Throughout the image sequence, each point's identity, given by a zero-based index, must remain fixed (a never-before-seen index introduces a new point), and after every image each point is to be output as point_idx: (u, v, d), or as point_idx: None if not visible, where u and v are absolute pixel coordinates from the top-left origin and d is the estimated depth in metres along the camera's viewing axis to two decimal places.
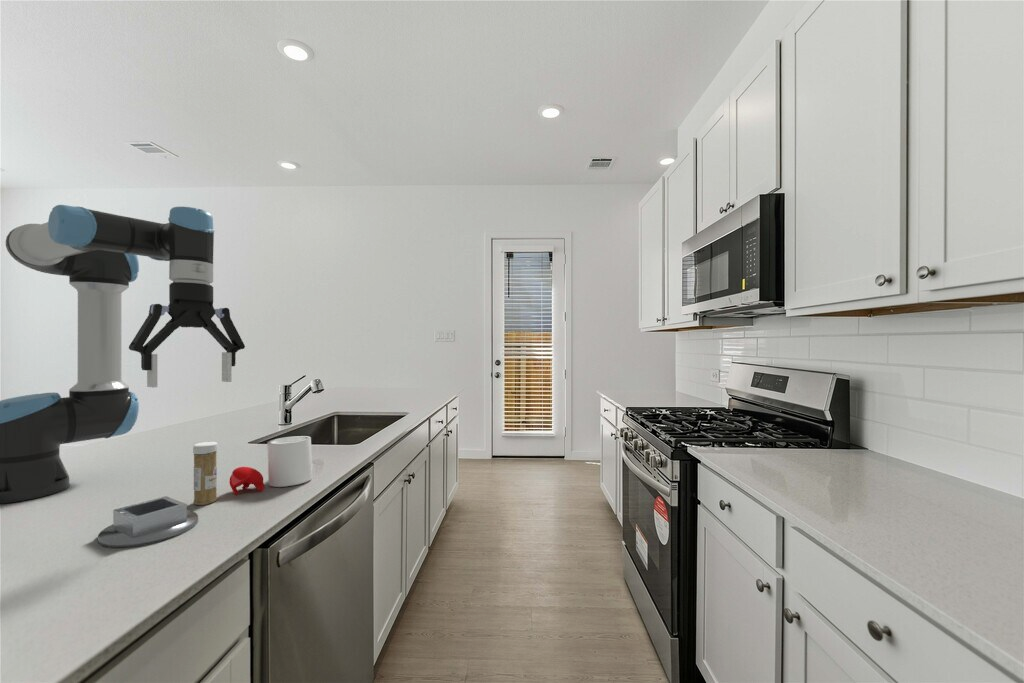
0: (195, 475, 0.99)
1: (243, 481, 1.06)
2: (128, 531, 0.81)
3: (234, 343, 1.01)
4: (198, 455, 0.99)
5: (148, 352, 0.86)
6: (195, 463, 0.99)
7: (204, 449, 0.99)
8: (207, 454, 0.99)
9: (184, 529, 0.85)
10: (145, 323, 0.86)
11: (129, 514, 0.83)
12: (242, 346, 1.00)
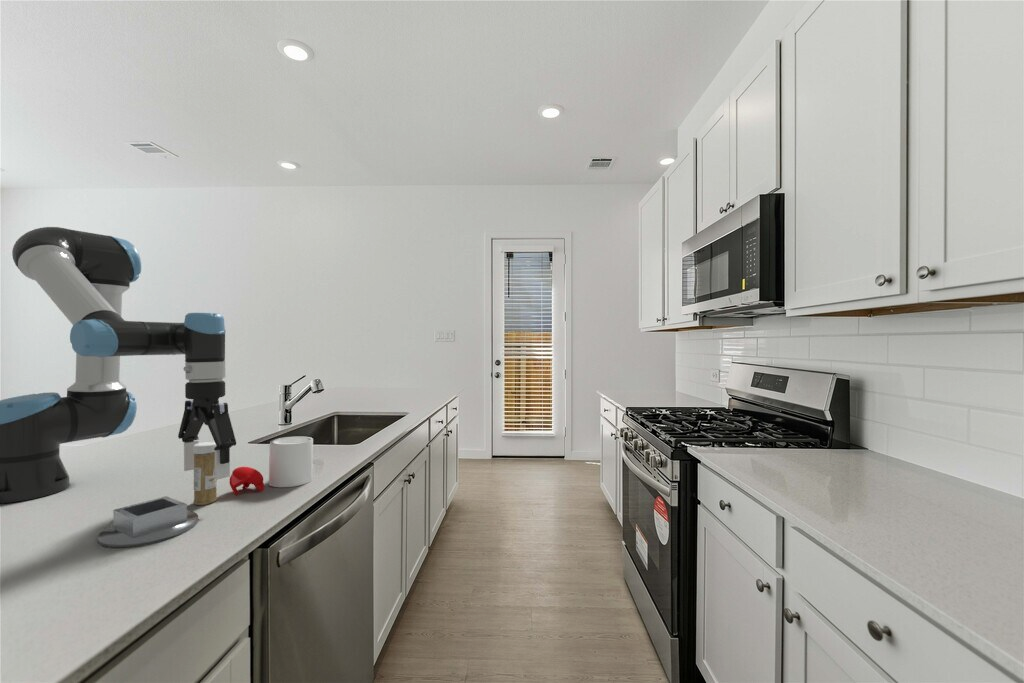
0: (195, 475, 0.99)
1: (243, 481, 1.06)
2: (128, 531, 0.81)
3: (231, 439, 0.97)
4: (198, 455, 0.99)
5: None
6: (195, 463, 0.99)
7: (204, 449, 0.99)
8: (207, 454, 0.99)
9: (184, 529, 0.85)
10: None
11: (129, 514, 0.83)
12: (222, 444, 0.95)
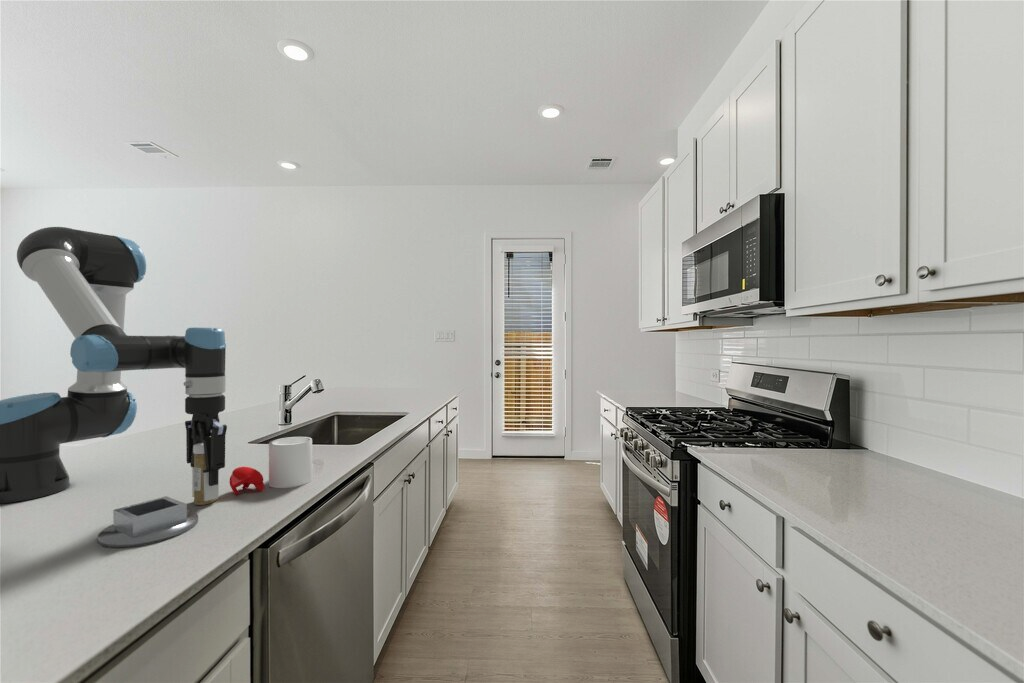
0: (195, 475, 0.99)
1: (243, 481, 1.06)
2: (128, 531, 0.81)
3: None
4: (198, 455, 0.99)
5: (191, 466, 1.02)
6: (195, 463, 0.99)
7: None
8: None
9: (184, 529, 0.85)
10: None
11: (129, 514, 0.83)
12: (211, 467, 0.97)
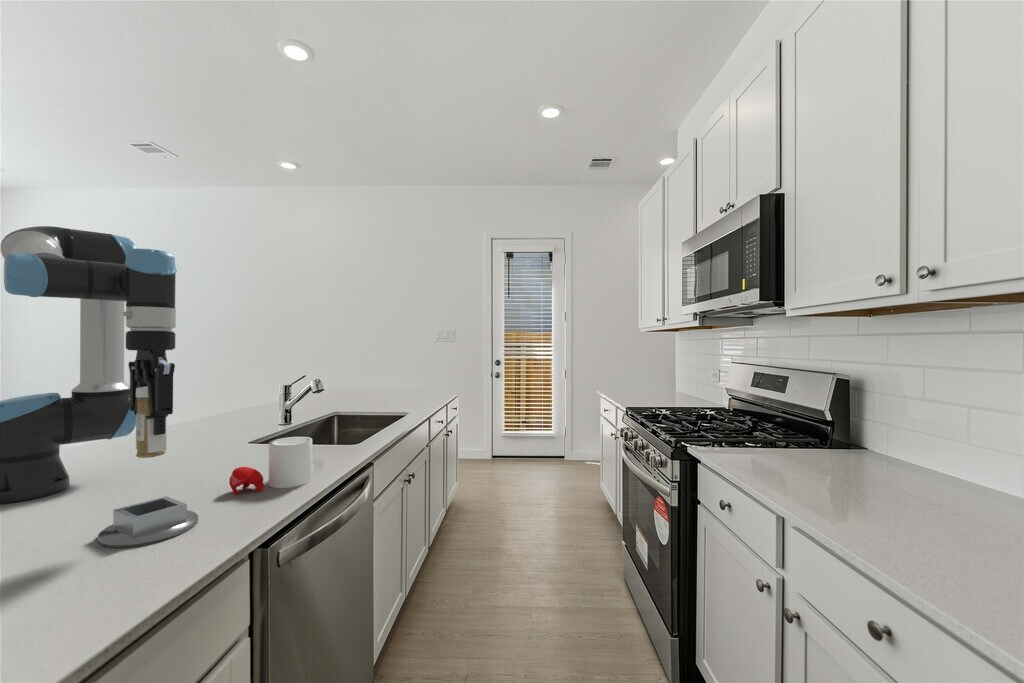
0: (138, 422, 0.84)
1: (243, 481, 1.06)
2: (128, 531, 0.81)
3: None
4: (141, 399, 0.84)
5: (135, 413, 0.87)
6: (138, 408, 0.84)
7: None
8: None
9: (184, 529, 0.85)
10: None
11: (129, 514, 0.83)
12: (155, 412, 0.82)
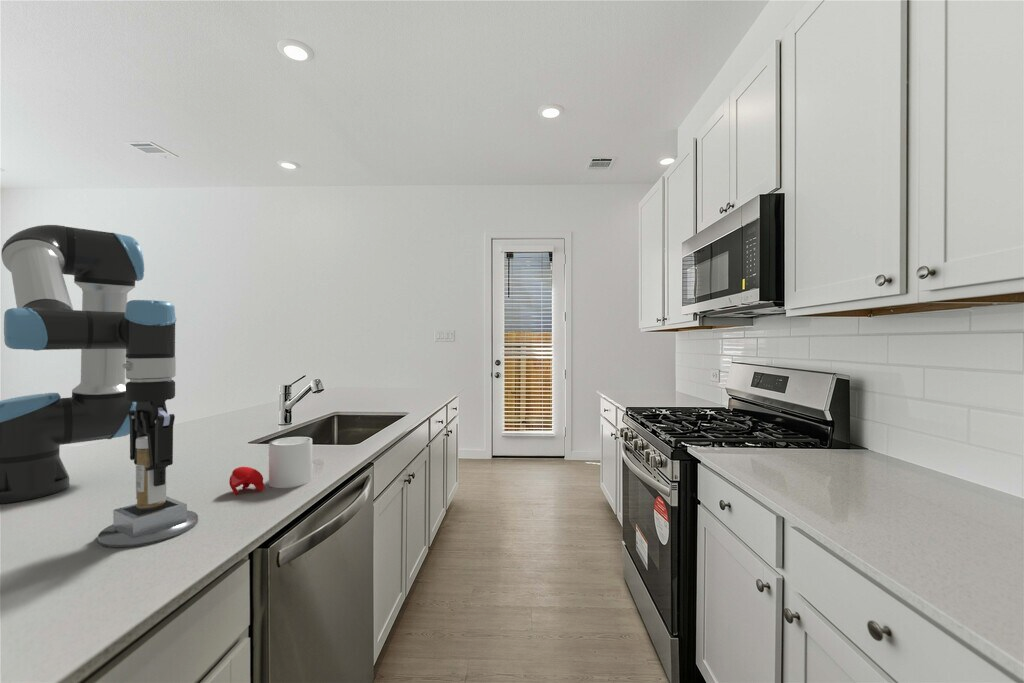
0: (138, 473, 0.84)
1: (243, 481, 1.06)
2: (128, 531, 0.81)
3: None
4: (141, 450, 0.84)
5: (135, 463, 0.87)
6: (138, 459, 0.84)
7: None
8: None
9: (184, 529, 0.85)
10: None
11: (129, 514, 0.83)
12: (155, 464, 0.82)
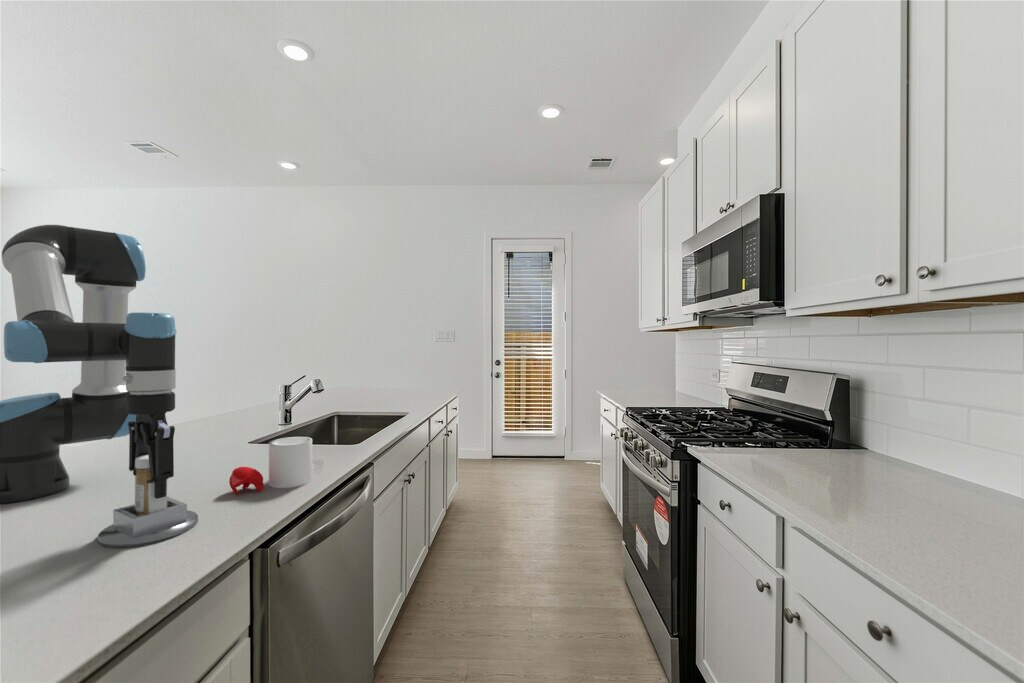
0: (137, 493, 0.84)
1: (243, 481, 1.06)
2: (128, 531, 0.81)
3: None
4: (141, 470, 0.84)
5: (134, 474, 0.87)
6: (137, 479, 0.85)
7: (148, 463, 0.84)
8: None
9: (184, 529, 0.85)
10: None
11: (129, 514, 0.83)
12: (156, 477, 0.82)
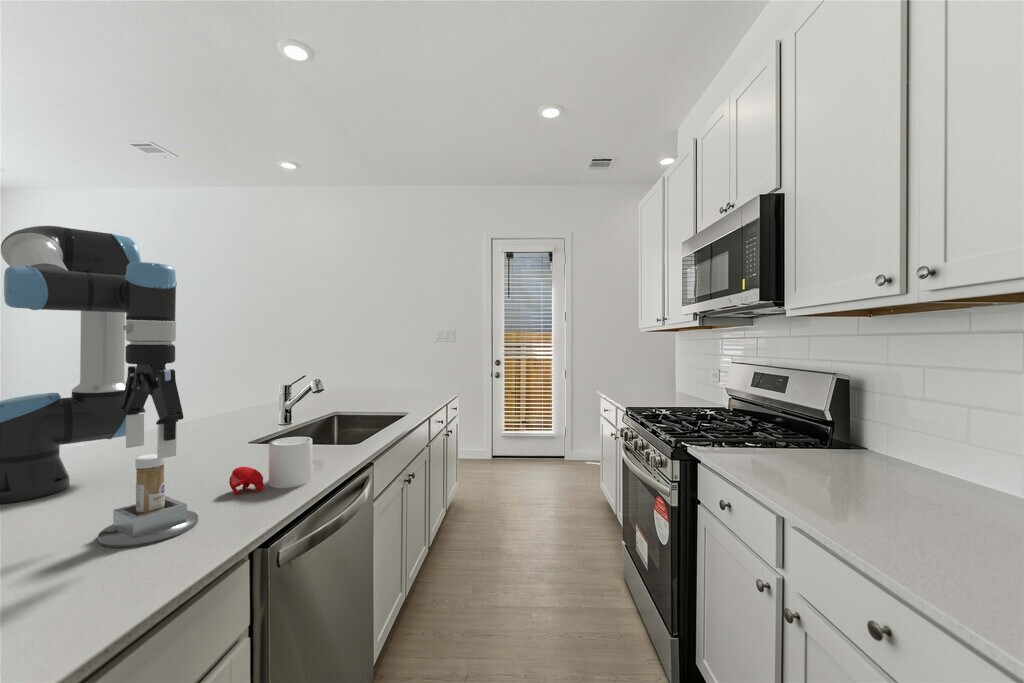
0: (137, 493, 0.84)
1: (243, 481, 1.06)
2: (128, 531, 0.81)
3: (177, 412, 0.83)
4: (141, 470, 0.84)
5: (125, 413, 0.89)
6: (137, 479, 0.85)
7: (148, 463, 0.84)
8: (151, 468, 0.85)
9: (184, 529, 0.85)
10: None
11: (129, 514, 0.83)
12: (166, 418, 0.80)
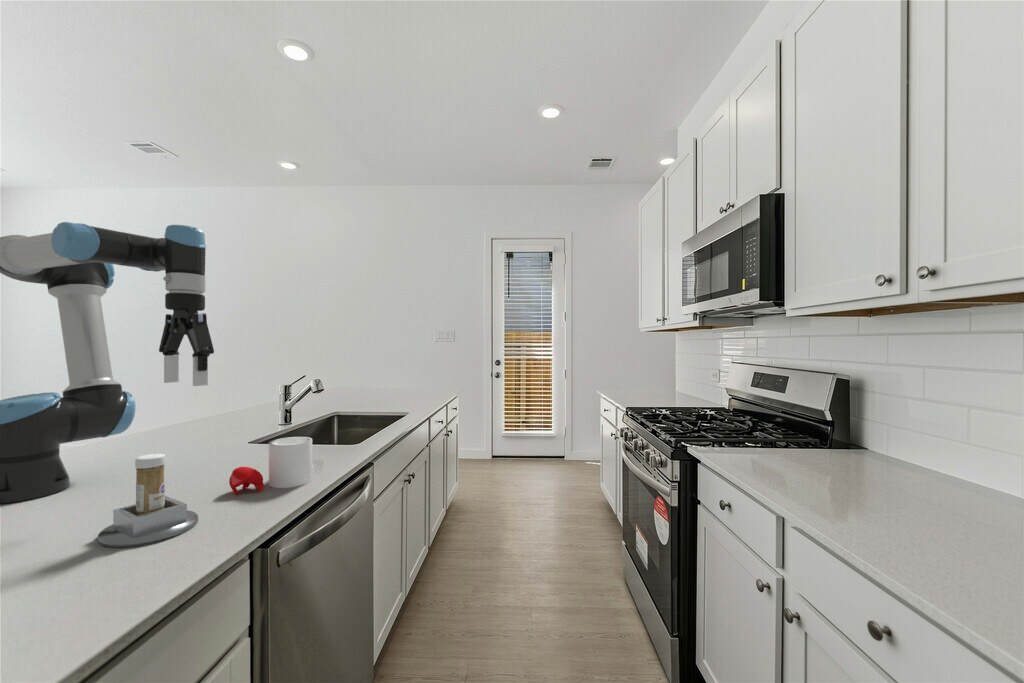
0: (137, 493, 0.84)
1: (243, 481, 1.06)
2: (128, 531, 0.81)
3: (208, 348, 1.00)
4: (141, 470, 0.84)
5: (163, 354, 1.06)
6: (137, 479, 0.85)
7: (148, 463, 0.84)
8: (151, 468, 0.85)
9: (184, 529, 0.85)
10: None
11: (129, 514, 0.83)
12: (200, 351, 0.98)
